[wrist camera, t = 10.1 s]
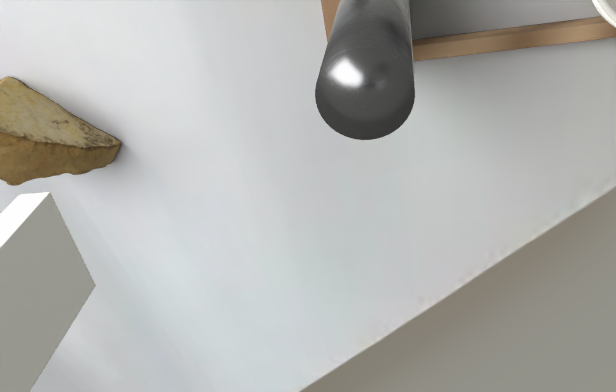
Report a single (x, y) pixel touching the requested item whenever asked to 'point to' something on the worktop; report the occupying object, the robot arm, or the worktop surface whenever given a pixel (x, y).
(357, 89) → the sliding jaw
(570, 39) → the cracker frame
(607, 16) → the dixie cup
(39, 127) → the rock
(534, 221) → the worktop surface
